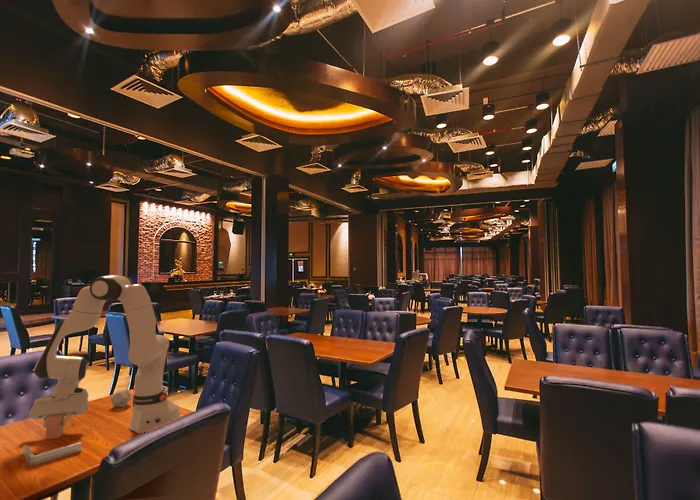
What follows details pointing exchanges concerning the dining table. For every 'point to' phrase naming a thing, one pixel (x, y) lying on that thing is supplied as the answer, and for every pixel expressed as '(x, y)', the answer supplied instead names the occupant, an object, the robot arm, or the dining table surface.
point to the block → (54, 426)
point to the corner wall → (49, 453)
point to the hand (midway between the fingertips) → (54, 426)
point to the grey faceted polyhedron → (120, 398)
